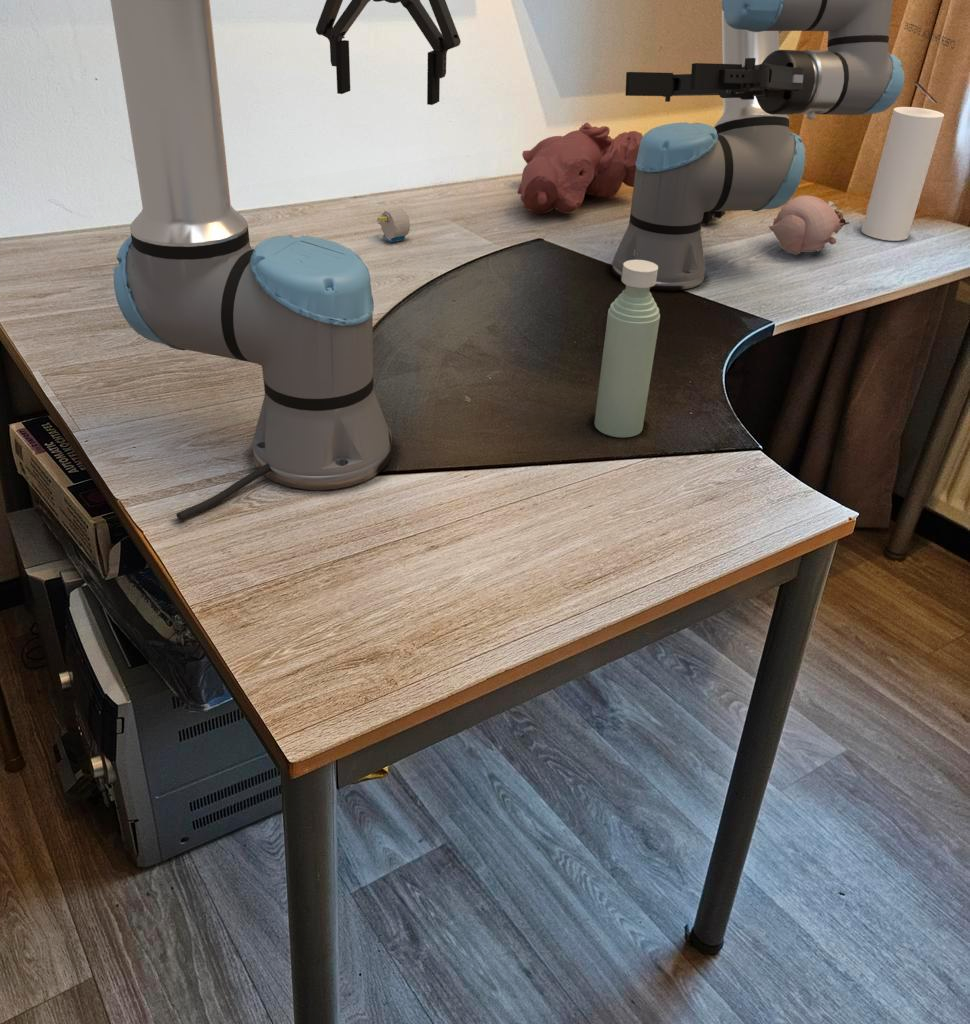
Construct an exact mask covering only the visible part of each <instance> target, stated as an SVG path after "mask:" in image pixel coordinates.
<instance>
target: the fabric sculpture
mask: <svg viewBox="0 0 970 1024" xmlns="http://www.w3.org/2000/svg"><path fill="white" fill-rule="evenodd" d="M610 130H611V129H610V127H608V126H607V125H605V126H604V125H602V126H600V127H598V126H592V125H591V124H590V123H589V122H585V123H584V124H581V126H580V127H579V129H576V130H573V131H570V132H568V133H566V134H565V135H554V136H549V137H546V138H544V139H542V140H540V141H539V142H538V143H536V145H535V146H534V147H532V148H531V149H529V150H523V151H522V153H521V156H522V158H523V160H524V162H525V163H526V164H525V166H524V168H523V170H522V172H521V173H522V174H521V180H520V181H521V182H520V185H519V186H518V189H517V194H518V195H520V200H521V202H522V203H523V207H524V209H525V210H529V211H530V212H532V213H535V214H546V213H549V212H551V211H552V210H553V209H554V208H555V209H556V210H557V211H559V212H560V213H564V214H569V213H573V212H575V211H578V209H579V208H581V206H582V203H584V199H585V195H591V196H593V197H596V198H599V197H604V198H606V197H608V198H610V197H613V196H614V195H617V194H618V192H619V191H620V189H621V186H622V184H624V185H625V186H627V187H631V188H633V187H634V179H635V171H636V165H635V162H636V159H637V156H638V151H639V147H640V142H641V139H642V137H643V136H644V135H643V134H642V132H638V131H636V130H631V131H628V132H627V131H624V132H621V133H618V135H617V136H615V137H614V138H612V137H611V136H610V135H609V134H610Z"/></svg>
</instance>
